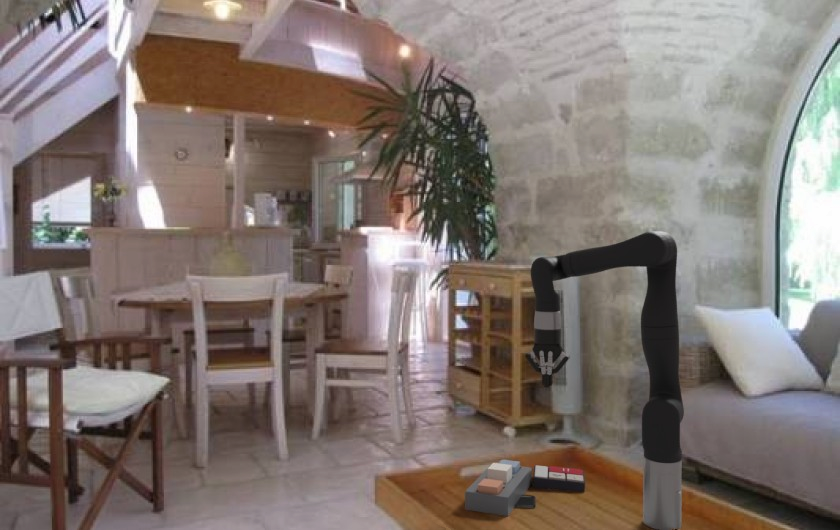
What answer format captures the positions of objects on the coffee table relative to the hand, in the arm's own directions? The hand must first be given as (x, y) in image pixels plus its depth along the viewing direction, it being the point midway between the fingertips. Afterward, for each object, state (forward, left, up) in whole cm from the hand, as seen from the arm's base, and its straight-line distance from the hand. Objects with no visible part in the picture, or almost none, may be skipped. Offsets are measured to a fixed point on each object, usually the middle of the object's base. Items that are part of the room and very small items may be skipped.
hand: (547, 387), depth 203 cm
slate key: (+12, -2, -28) cm, 31 cm away
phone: (+9, +10, -32) cm, 34 cm away
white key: (+12, +7, -26) cm, 30 cm away
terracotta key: (+12, +16, -28) cm, 34 cm away
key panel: (+12, +7, -31) cm, 34 cm away
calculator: (-1, -9, -32) cm, 33 cm away
